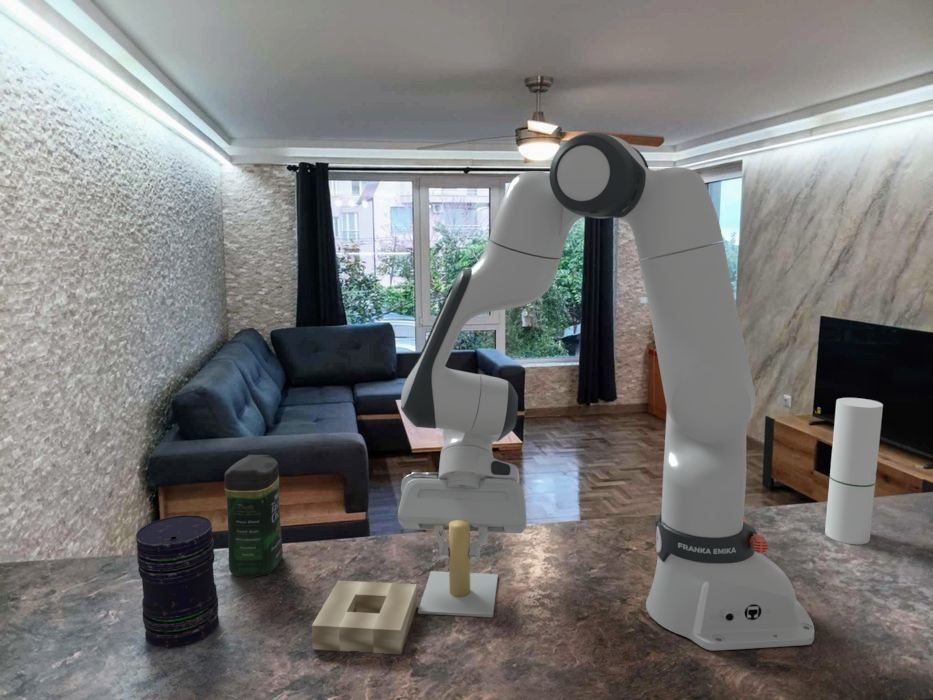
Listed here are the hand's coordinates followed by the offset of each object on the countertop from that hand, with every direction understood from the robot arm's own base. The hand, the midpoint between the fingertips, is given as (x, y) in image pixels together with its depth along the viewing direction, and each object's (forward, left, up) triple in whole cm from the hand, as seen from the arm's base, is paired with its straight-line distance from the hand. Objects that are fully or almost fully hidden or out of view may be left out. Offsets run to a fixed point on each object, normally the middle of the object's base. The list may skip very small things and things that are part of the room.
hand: (459, 557), depth 104 cm
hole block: (+12, +9, -6) cm, 16 cm away
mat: (0, -1, -6) cm, 6 cm away
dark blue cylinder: (+38, +12, -7) cm, 41 cm away
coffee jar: (+35, -7, -7) cm, 36 cm away
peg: (0, -1, -6) cm, 6 cm away
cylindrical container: (-68, -28, -7) cm, 74 cm away
